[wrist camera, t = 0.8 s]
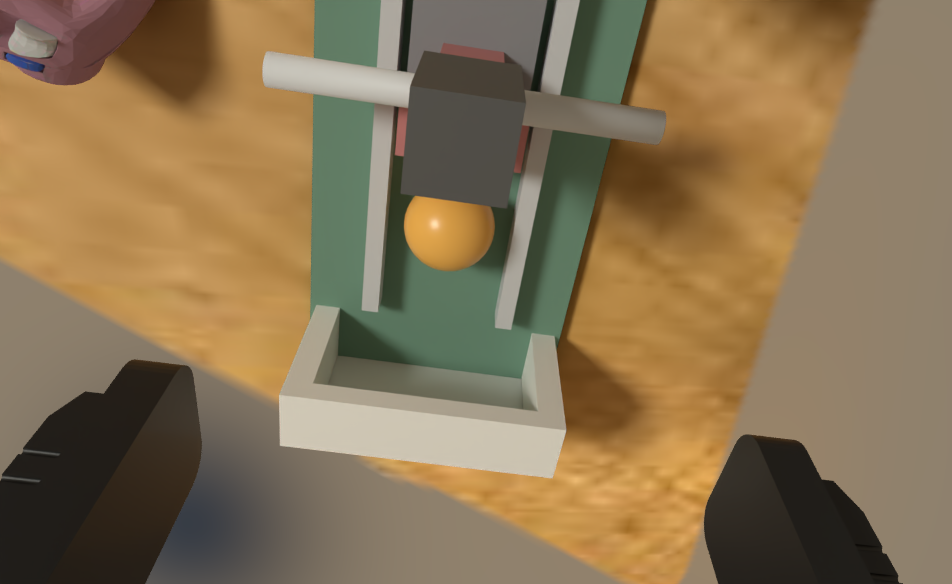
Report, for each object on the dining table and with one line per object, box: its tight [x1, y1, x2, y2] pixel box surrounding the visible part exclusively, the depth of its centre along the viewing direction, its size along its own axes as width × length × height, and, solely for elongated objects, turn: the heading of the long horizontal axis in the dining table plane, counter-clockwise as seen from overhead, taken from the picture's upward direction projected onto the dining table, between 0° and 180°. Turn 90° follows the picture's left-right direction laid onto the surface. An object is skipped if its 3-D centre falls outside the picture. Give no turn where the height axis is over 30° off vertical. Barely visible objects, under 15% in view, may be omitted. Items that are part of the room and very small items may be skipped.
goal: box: [279, 305, 566, 478], centre depth 33 cm, size 4×12×7 cm, turn 82°
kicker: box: [263, 0, 666, 209], centre depth 23 cm, size 6×14×11 cm, turn 82°
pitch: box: [310, 0, 647, 379], centre depth 31 cm, size 22×13×2 cm, turn 172°
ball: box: [404, 196, 495, 271], centre depth 30 cm, size 4×4×4 cm
